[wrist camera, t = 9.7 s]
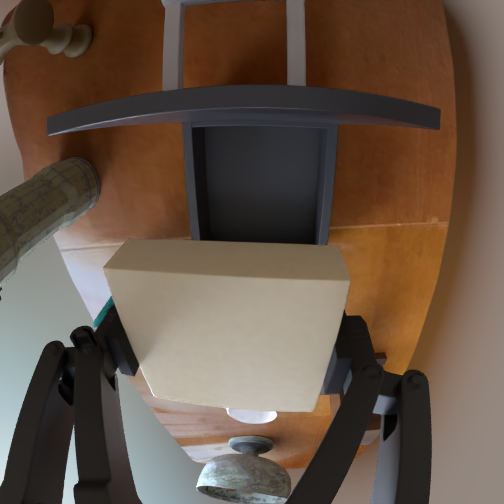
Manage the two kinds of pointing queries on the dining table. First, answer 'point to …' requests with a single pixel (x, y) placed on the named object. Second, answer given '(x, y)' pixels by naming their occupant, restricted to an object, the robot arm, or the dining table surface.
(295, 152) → the open box
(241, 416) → the mug
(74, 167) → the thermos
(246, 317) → the beige flat square block
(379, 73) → the dining table surface
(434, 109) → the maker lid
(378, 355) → the stand
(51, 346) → the robot arm
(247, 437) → the decorative bowl
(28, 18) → the kendama
